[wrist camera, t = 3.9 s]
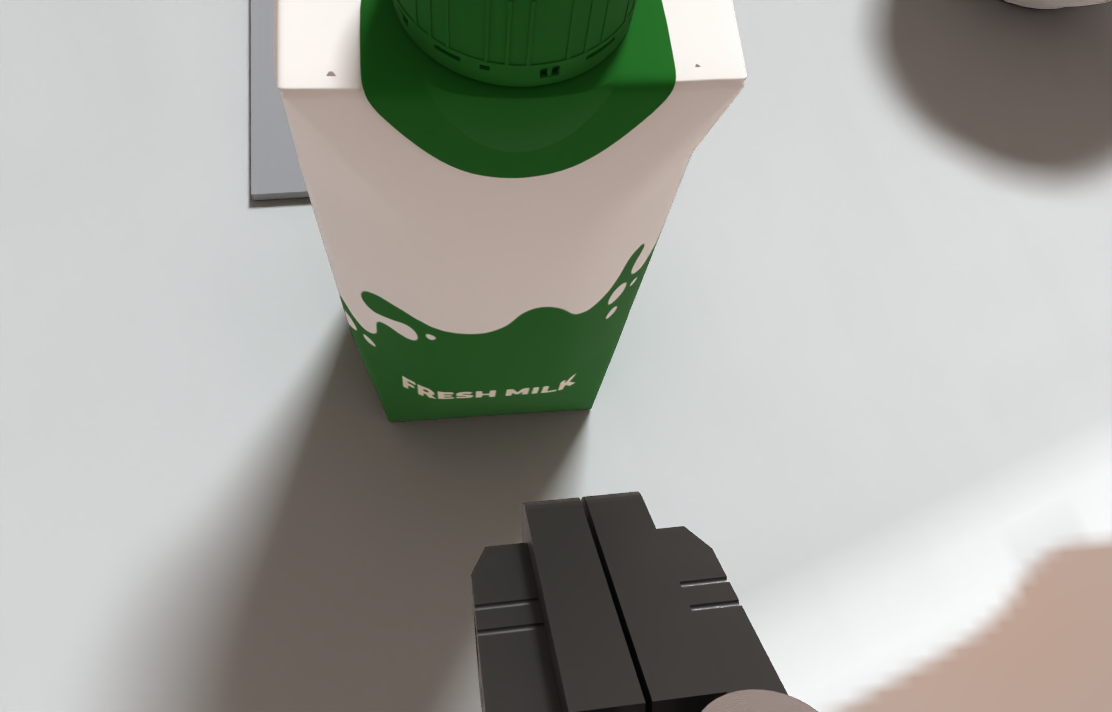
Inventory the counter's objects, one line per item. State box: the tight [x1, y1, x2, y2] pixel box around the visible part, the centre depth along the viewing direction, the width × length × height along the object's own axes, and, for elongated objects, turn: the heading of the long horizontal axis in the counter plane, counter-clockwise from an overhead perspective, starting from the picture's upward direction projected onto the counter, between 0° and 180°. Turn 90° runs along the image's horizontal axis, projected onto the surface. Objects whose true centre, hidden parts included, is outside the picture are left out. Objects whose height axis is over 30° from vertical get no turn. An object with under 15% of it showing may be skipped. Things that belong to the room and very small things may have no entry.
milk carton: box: [274, 0, 747, 422], centre depth 23 cm, size 9×9×20 cm
